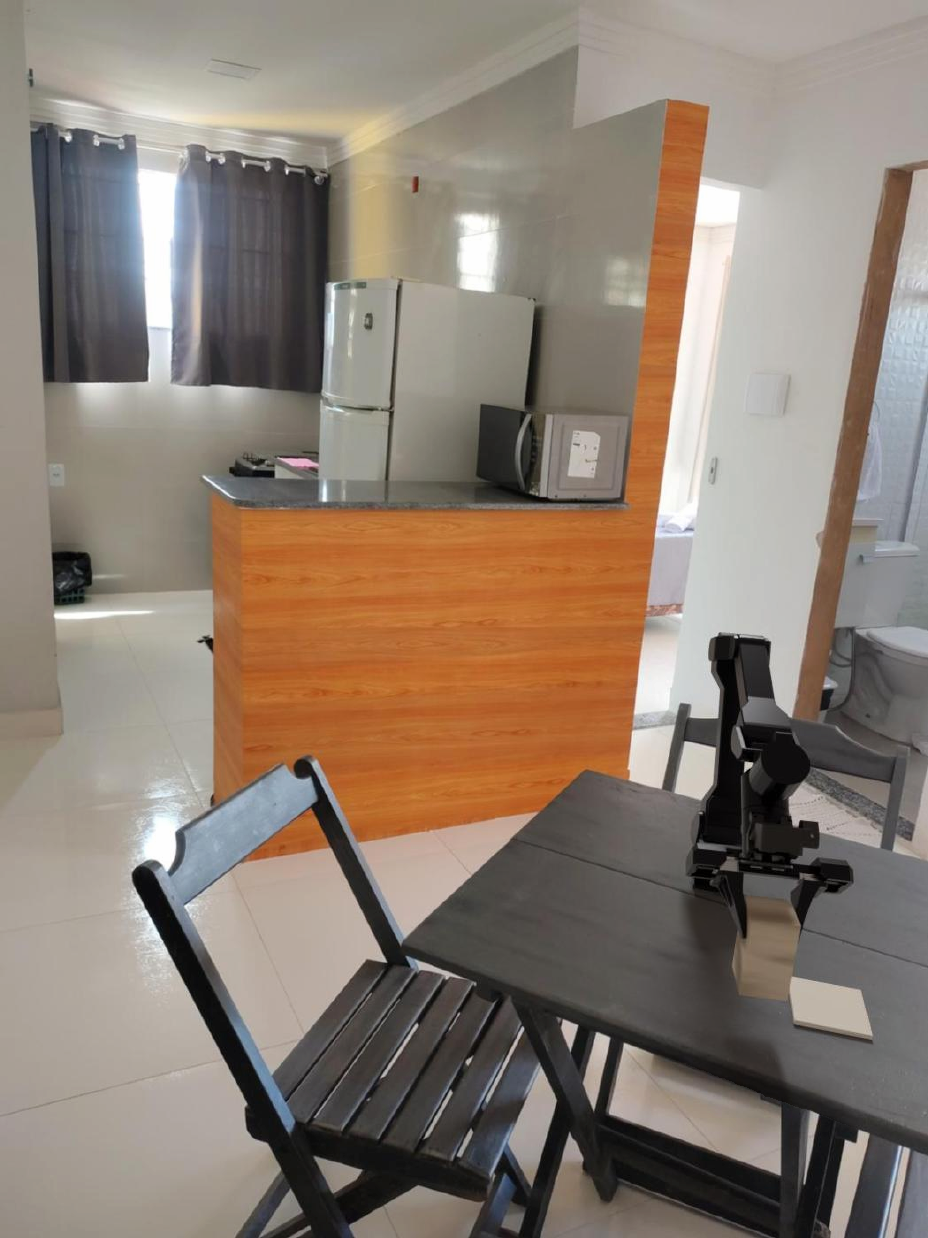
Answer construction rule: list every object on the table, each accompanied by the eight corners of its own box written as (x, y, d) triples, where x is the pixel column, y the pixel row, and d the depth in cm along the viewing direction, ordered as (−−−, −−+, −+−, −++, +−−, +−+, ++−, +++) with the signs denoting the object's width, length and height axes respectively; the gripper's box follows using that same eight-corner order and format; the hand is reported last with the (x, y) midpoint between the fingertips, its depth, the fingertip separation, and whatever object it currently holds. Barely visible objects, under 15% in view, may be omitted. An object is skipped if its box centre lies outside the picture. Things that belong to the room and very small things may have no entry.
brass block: (731, 966, 115) (743, 894, 113) (777, 972, 115) (790, 900, 112) (739, 995, 110) (751, 920, 107) (787, 1001, 109) (800, 926, 107)
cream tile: (793, 1024, 114) (794, 1019, 114) (787, 979, 123) (787, 975, 122) (872, 1040, 112) (872, 1036, 112) (859, 994, 121) (860, 990, 121)
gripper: (701, 782, 111) (701, 916, 103) (863, 800, 109) (875, 938, 101) (685, 812, 121) (684, 937, 113) (834, 829, 119) (843, 957, 111)
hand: (769, 942), depth 109 cm, fingers closed on brass block, 5 cm apart
